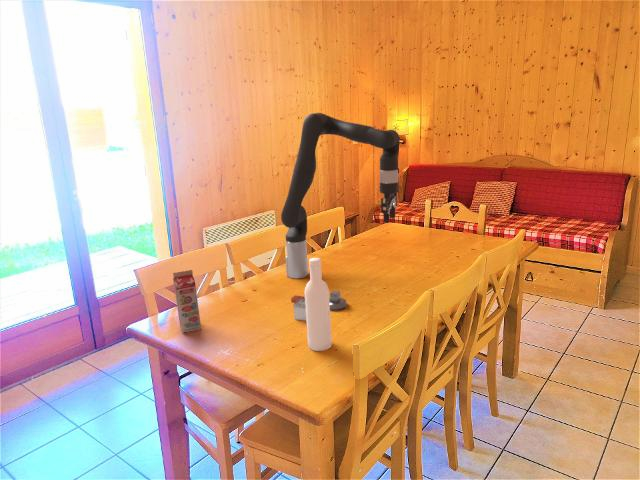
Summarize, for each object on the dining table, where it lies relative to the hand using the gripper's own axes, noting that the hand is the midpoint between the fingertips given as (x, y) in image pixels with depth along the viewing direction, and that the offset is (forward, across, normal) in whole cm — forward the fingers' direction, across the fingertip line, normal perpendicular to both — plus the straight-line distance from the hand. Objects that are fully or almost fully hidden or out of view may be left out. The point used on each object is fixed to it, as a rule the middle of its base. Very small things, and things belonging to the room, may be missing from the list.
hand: (389, 220), depth 200 cm
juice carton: (+29, +61, -58) cm, 89 cm away
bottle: (+29, +58, -7) cm, 65 cm away
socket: (+29, +39, -21) cm, 53 cm away
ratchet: (+29, +26, -21) cm, 45 cm away
